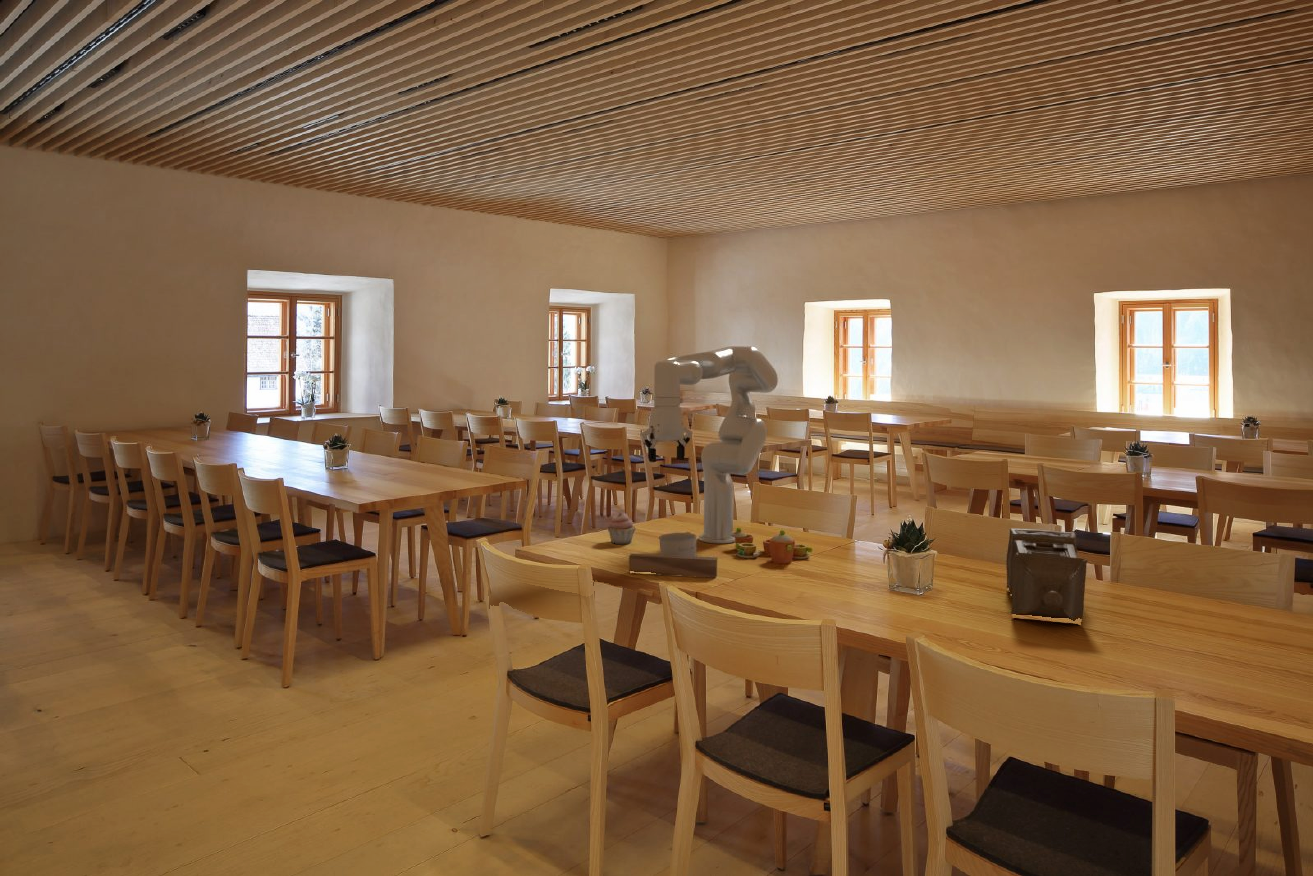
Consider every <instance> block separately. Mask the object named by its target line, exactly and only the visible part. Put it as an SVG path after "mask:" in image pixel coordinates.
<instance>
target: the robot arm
mask: <svg viewBox="0 0 1313 876" xmlns="http://www.w3.org/2000/svg"><path fill="white" fill-rule="evenodd" d="M775 369H776V368H775V367H773V365H772V364H771V362H770V361H769V360H768V359H767V358H766V357H765V355H764V354H763V353H762V352H761V351H760V350H759V349H757V348H756V347H754V346H741V345H739V346H738V345H737V346H735V345H733V346H726V347H721V348H718V349H714V350H709V351H704V352H697V353H693V354H685V355H679V356H678V355H677V356H673V357H670V358H665V359H663V360H659V361H656V362H655V364H654V369H653V370H654V374H653V375H654V376H653V377H654V378H653V380H654V381H653V382H654V384H653V385H654V387H653V391H654V392H653V393H654V394H653V400H654V402H653V403H654V404H653V407H651V409H650V413H649V420H648V428H647V429H645V430H643V431H642V432H641V433H640V438H641V440H642V444H644V445H645V447H646V448H647V458H648V461H649V462H652V463H656V461H657V448H656V445H657V444H658V443H660V442H661V443H663V442H664V443H665V442H676V443H677V446H676V459H677V460H681V461H684V460H685V455H686V453H685V452H686V447H687V444H688V443H689V442H690V440H691V439H692V438H691V437H692V436H693V431H692V430H691V429H688V428H687V427H686V426H685V424H684V416H683V411H682V409H683V408H682V407H681V404H683V403H684V399H683V398H681V393H680V389H681V386H694V385H697V383H699V382H700V381H701V380H709V379H710V380H711V379H715V378H719V377H722V376H726V375H728V385H729V389H730V395H731V402H730V406H729V408H728V410H727V412H726V414H725V416H724V419H723V421H722V422H721V424H720V427H719V429H718V431H717V432H718V434H717V436H718V439H719V440H720V441H721V442H719V441H717V442H715V441H713V442H710V443H707V444H706V445H705V446H704V447H703V448H702V450H701V453H700V454H701V456H700V459H701V466H702V472H703V486H704V487H703V490H704V491H703V533H700V534H698V540H699V541H701V542H705V543H709V544H731V543H736V542H735V537H732V536H731V534H732V533H733V532H734V494H735V489H734V487H735V485H734V482H733V479H732V477H731V474H732V475H739V476H741V475H746V474H747V475H748V473H750V472H751V471H752V469H753V468H754V467H755V464H756V462H757V460H758V458H759V456H760V454H761V451H762V449H763V448H764V445H765V442H766V440H767V436H768V435H767V433H768V431H767V430H768V429H767V425H766V423H765V421H763V420H762V419H761V418H758V417H755V414H756V410H757V409H756V408H757V407H756V404H755V402H754V399H753V398H752V396H751V393H760V394H761V393H763V394H764V393H770V392H773V391H775V389H776V387H777V385H778V381H779V379H778V374H777V371H776V370H775ZM684 435H685V436H684Z"/></svg>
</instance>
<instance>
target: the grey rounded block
mask: <svg viewBox="0 0 1313 876" xmlns="http://www.w3.org/2000/svg"><path fill="white" fill-rule="evenodd" d="M658 539H659V551H660V552H659V553H660V555H676V556H696V555H697V535H696V534H695V533H691V532H688V531H687V532H686V531H685V532H671V533H665V534H662V535H660V536H658Z"/></svg>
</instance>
